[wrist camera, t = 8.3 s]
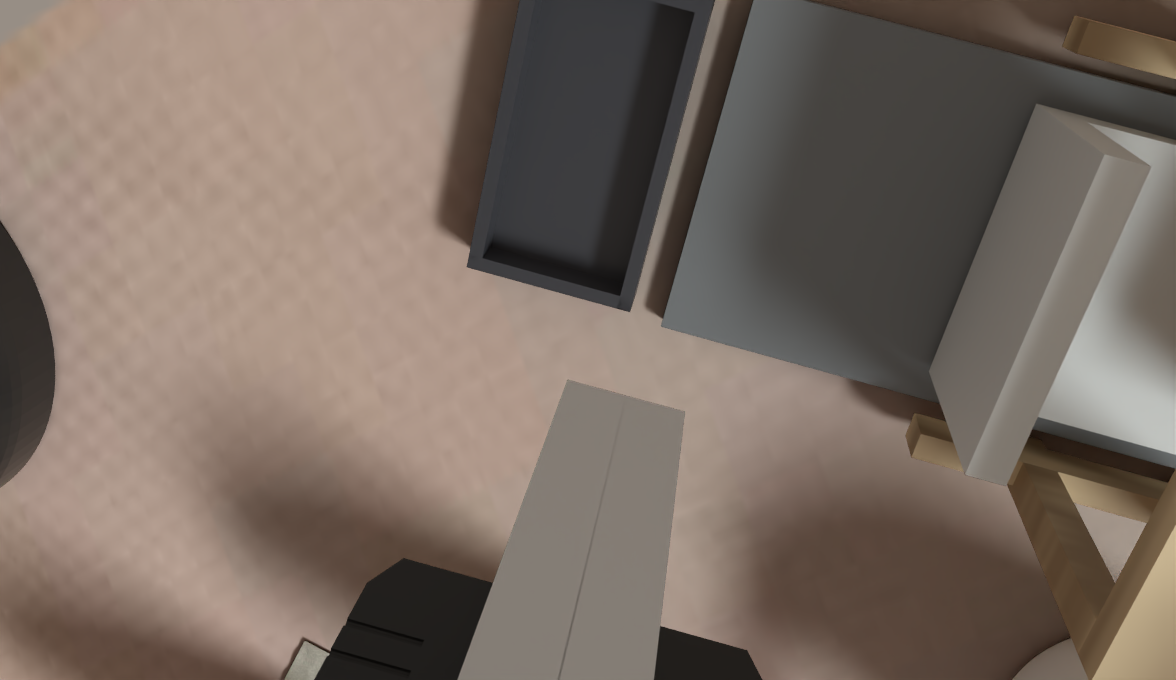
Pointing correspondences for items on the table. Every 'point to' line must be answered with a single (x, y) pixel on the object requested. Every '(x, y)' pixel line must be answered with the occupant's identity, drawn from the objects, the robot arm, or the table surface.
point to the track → (867, 191)
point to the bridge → (1095, 488)
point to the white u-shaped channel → (1067, 297)
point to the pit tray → (586, 142)
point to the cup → (1054, 664)
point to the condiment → (307, 663)
